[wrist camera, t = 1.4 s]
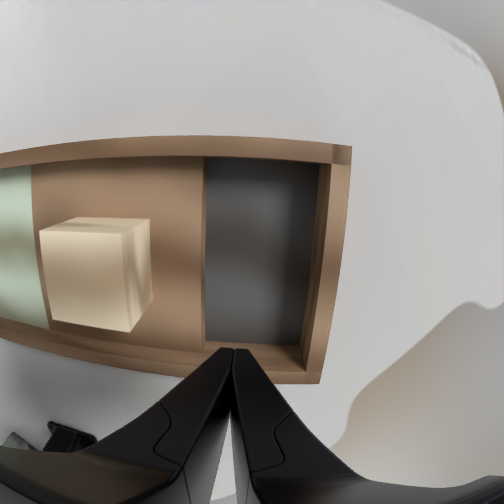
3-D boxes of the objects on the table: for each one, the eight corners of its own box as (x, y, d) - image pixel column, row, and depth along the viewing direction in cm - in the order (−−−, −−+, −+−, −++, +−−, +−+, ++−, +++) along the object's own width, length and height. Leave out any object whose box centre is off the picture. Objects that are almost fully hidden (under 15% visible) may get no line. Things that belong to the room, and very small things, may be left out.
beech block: (153, 300, 18) (129, 332, 14) (84, 292, 18) (52, 319, 14) (149, 218, 17) (121, 233, 13) (77, 217, 17) (39, 230, 13)
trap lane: (310, 353, 21) (319, 384, 18) (-37, 302, 21) (-57, 315, 18) (335, 149, 18) (351, 146, 14) (-53, 169, 18) (-77, 173, 14)
